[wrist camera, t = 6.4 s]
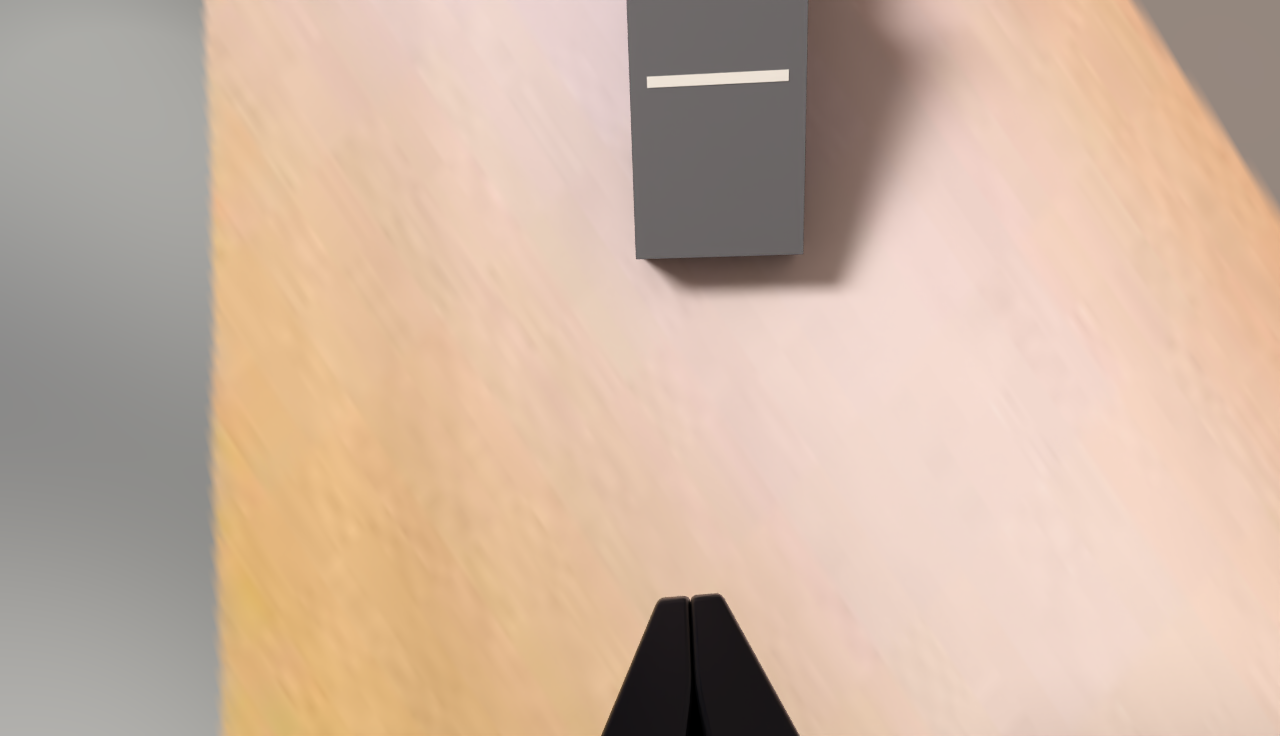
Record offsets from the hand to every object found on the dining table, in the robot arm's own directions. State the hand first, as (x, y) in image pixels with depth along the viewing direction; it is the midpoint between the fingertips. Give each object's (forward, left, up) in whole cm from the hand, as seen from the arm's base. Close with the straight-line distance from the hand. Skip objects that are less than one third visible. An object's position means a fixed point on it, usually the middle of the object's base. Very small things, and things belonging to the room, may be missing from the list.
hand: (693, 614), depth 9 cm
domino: (+8, +2, -11) cm, 14 cm away
